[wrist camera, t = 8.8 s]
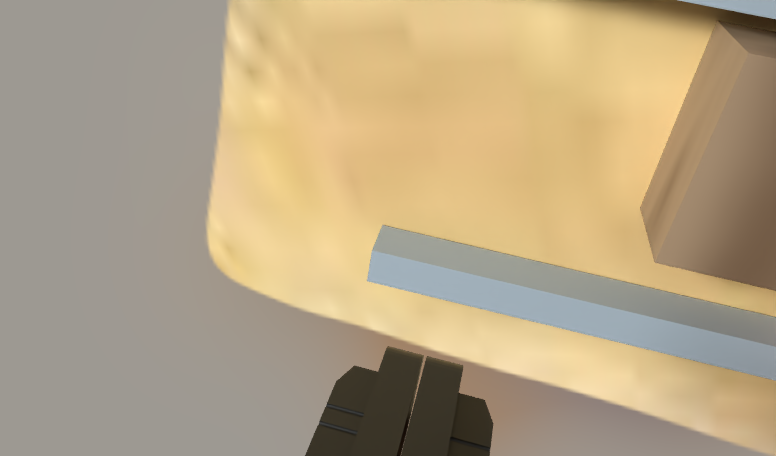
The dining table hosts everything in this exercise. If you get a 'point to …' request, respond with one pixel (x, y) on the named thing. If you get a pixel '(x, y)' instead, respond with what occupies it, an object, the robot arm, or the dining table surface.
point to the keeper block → (721, 165)
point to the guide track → (582, 290)
